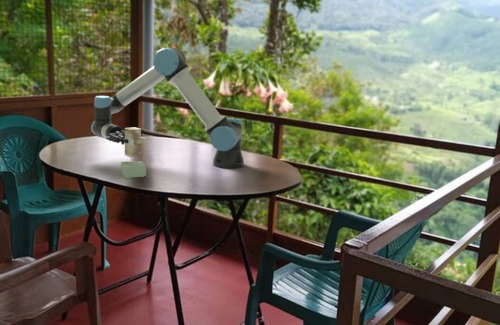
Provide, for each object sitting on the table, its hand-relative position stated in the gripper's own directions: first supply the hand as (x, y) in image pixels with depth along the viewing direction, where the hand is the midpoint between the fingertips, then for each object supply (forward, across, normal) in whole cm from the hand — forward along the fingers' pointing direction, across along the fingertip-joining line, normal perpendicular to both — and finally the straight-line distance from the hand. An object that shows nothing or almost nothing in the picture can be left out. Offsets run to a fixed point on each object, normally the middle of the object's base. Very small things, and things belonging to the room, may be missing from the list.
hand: (139, 142), depth 219 cm
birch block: (-5, 0, -7) cm, 9 cm away
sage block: (-5, 0, -16) cm, 17 cm away
